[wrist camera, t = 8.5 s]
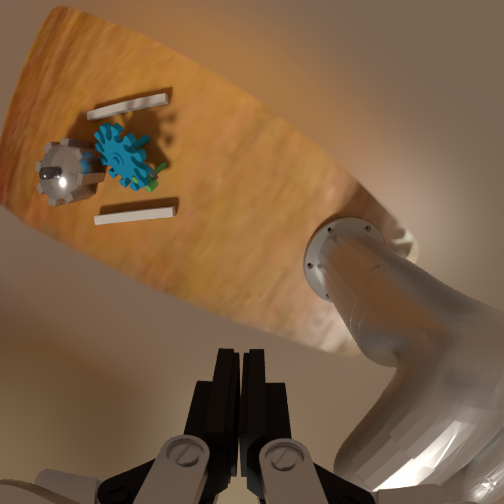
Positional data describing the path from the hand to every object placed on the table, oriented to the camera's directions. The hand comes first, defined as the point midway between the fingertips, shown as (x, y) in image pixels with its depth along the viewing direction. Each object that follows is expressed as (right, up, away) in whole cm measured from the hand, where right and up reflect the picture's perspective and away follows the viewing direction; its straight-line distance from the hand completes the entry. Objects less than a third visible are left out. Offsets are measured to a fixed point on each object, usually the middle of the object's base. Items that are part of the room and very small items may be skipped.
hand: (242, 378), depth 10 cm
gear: (-15, +17, +24) cm, 34 cm away
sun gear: (-25, +17, +24) cm, 38 cm away
